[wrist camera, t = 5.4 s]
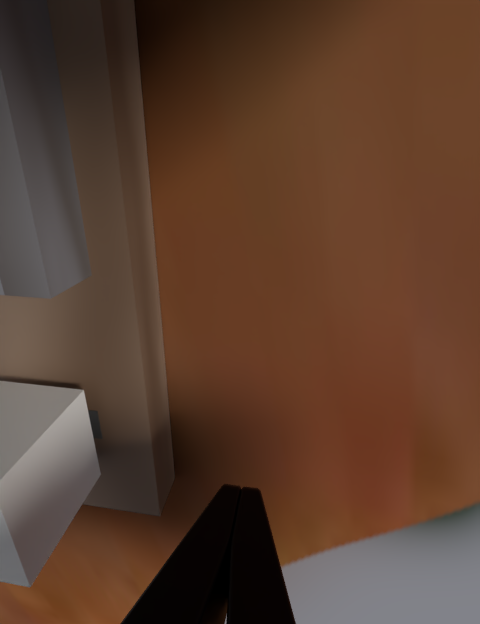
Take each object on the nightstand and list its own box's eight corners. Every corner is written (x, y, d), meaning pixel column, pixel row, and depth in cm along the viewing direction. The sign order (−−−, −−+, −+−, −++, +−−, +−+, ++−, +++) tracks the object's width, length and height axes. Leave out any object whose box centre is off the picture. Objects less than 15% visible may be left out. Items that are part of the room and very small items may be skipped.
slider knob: (83, 390, 9) (-8, 488, 6) (100, 474, 10) (30, 587, 8) (-20, 378, 10) (-146, 466, 7) (8, 461, 11) (-90, 564, 8)
